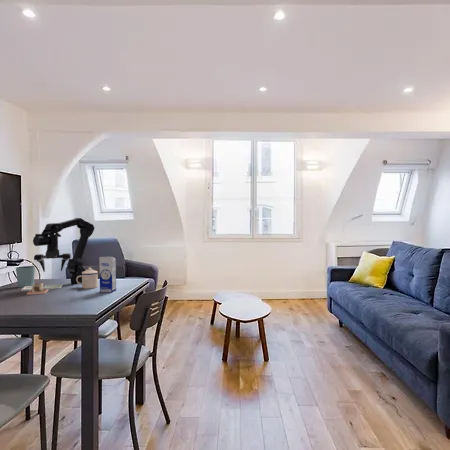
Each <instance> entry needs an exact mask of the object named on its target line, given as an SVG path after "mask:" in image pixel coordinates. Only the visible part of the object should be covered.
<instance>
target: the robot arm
mask: <svg viewBox="0 0 450 450" xmlns="http://www.w3.org/2000/svg"><path fill="white" fill-rule="evenodd" d="M75 226H76V227H77V228H78V229H79V235H80V237H79V240H78V243H77V246H76V249H75V251H74V255H73V257H72V256H71V253H67V252H66V253H62V254H60V249H59V237H60V238H61V237H62V235H61V234H60V232H61V231H62V230H63V231H64V229H68V228H71V227H75ZM94 231H95V226H94V224H93V223H91V222H88V221H86V220H84V219H83V218H81V217H75V218H73V219H69V220H66V221H61V222H54V223H52V222H51V223H46V224H45V227H44V229H42V232H41V233H35V234H34V237H33V239H32V244H33V245H34V246H35V247H40V246H42V247H43V246H46V252H45V255H44V254H42V253H41V254H40V253H39V254H35V255H34V256H33V260H34V261H36V262H38V263H39V264H40V267H41V268H42V272H43V273H45V272H46V266H45V260H46V259H47V260H49V259H61V265H60V271H61V272H62V271H63V269H64V266H65V263H66V261H67V264H66V266H67V267H66V268H67V270H68V272H69V274H71V276H70V284H71V285H80V284H79V283H77V281H76V278H77V277H78V276H82V272H84V271H86V270H87V269H85V268H84V267H83V264H84V263H83V256H84V253H85V250H86V247H87V243H88V241H89V238H90V237H91V236H92V235H93V233H94ZM71 257H72V258H71ZM77 280H78V282H80V283H82V277H78V279H77Z"/></svg>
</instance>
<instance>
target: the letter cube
mask: <svg viewBox="0 0 450 450" xmlns="http://www.w3.org/2000/svg"><path fill="white" fill-rule="evenodd" d="M43 288H44V283H43V282H42V283H40V282H39V283H34V284H33V285H32V293H35V292H43Z"/></svg>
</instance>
